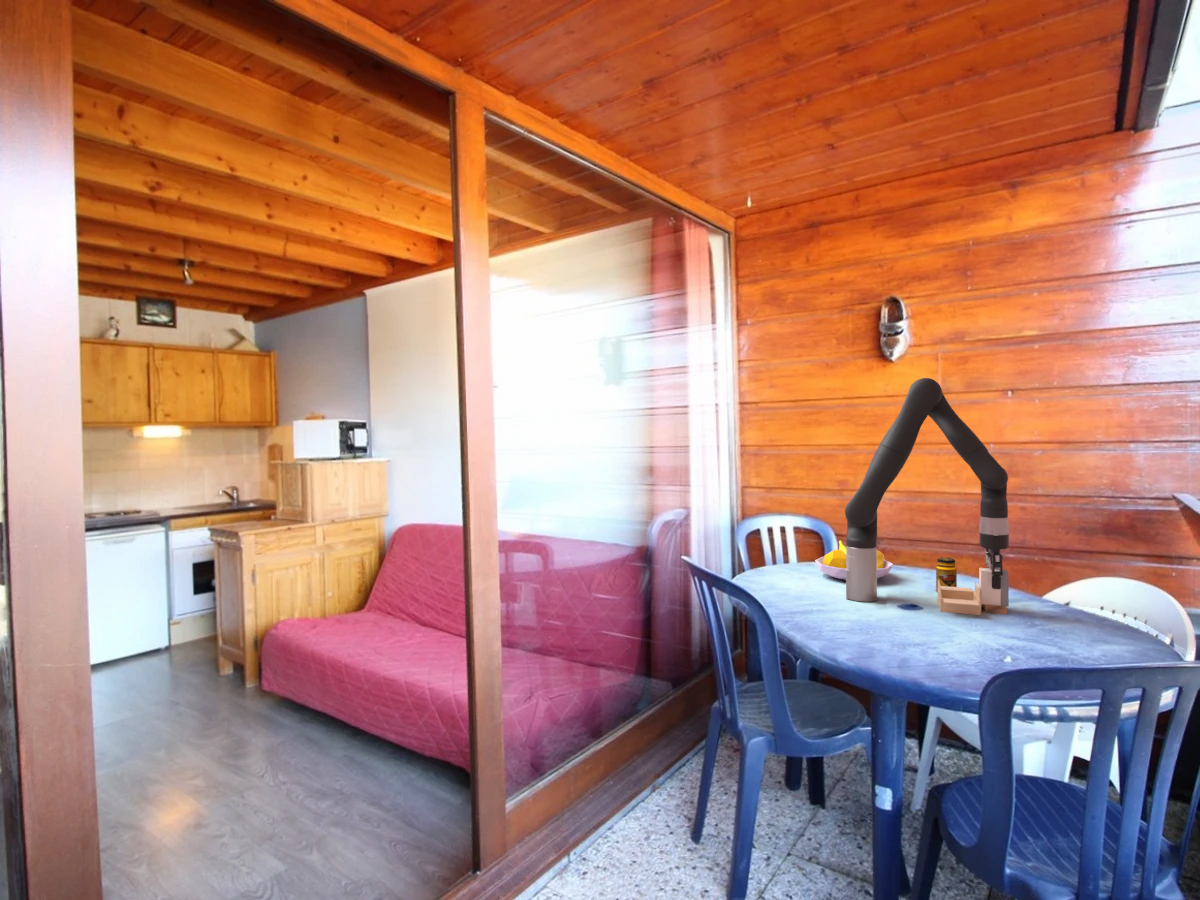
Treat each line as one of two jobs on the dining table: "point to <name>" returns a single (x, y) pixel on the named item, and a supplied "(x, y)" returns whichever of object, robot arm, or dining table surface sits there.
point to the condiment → (946, 572)
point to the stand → (994, 609)
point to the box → (990, 594)
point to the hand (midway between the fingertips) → (994, 585)
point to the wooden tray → (959, 599)
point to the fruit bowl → (837, 563)
